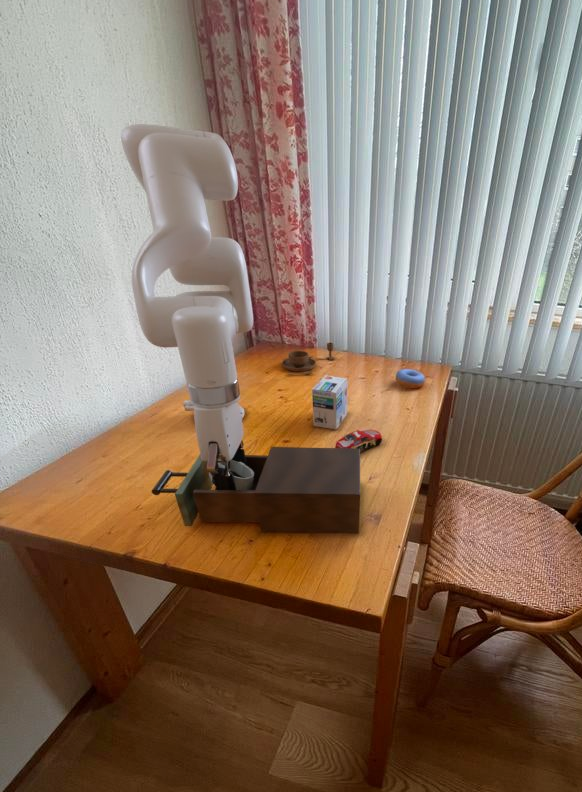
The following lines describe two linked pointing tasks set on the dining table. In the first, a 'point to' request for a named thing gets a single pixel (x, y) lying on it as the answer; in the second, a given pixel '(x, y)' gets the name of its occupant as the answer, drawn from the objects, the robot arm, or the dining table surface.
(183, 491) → the drawer
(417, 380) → the doughnut
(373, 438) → the race car
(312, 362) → the place setting
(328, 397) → the light bulb box
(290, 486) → the cabinet
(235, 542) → the dining table surface
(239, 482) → the wristwatch
